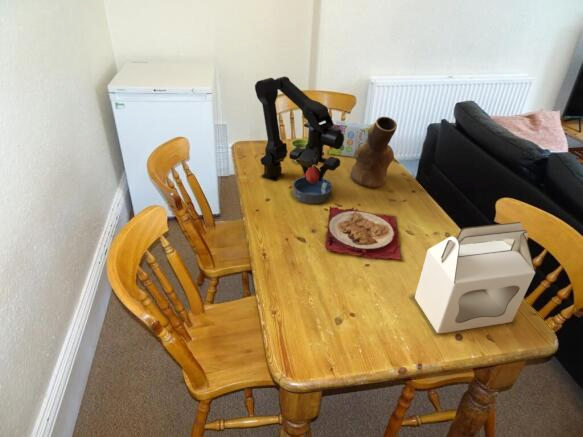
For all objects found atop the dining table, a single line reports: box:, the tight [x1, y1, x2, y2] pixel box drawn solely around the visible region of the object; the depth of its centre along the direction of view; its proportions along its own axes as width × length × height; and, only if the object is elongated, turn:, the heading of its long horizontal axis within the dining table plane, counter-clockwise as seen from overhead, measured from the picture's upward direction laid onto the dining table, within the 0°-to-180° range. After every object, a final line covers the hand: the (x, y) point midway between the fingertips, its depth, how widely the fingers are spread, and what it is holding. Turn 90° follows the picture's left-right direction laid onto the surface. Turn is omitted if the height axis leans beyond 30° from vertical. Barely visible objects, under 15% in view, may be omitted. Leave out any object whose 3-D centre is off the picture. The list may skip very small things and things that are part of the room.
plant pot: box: [290, 138, 308, 165], centre depth 182 cm, size 9×9×9 cm
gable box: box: [414, 221, 536, 334], centre depth 104 cm, size 22×13×28 cm, turn 102°
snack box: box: [328, 119, 373, 158], centre depth 188 cm, size 21×6×15 cm, turn 77°
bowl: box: [292, 176, 333, 205], centre depth 160 cm, size 15×15×4 cm
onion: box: [306, 165, 320, 184], centre depth 156 cm, size 6×6×8 cm
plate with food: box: [324, 202, 402, 260], centre depth 139 cm, size 24×26×4 cm
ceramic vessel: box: [350, 116, 398, 189], centre depth 161 cm, size 16×22×30 cm
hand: (313, 178), depth 157 cm, fingers closed on onion, 6 cm apart
